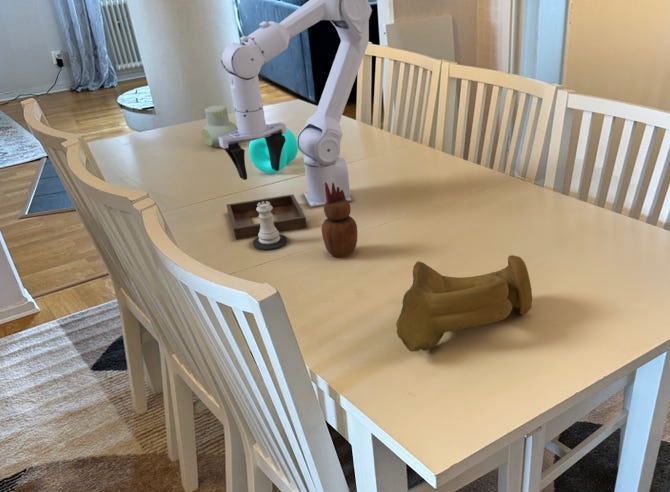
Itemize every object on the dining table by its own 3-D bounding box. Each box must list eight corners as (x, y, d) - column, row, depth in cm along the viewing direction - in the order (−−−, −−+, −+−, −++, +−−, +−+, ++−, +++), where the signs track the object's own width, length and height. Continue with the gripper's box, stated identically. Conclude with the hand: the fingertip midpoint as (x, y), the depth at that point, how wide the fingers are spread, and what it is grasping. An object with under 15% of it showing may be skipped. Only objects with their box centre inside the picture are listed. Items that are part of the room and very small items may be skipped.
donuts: (301, 162, 178) (296, 124, 173) (286, 176, 171) (281, 136, 165) (266, 160, 181) (260, 122, 175) (250, 174, 173) (243, 134, 167)
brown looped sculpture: (386, 259, 116) (513, 231, 115) (402, 331, 120) (526, 304, 119) (384, 280, 98) (535, 247, 97) (404, 364, 102) (549, 333, 101)
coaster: (284, 233, 143) (284, 231, 143) (290, 246, 138) (290, 245, 138) (250, 238, 142) (250, 236, 141) (255, 252, 136) (255, 250, 136)
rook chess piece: (271, 234, 142) (264, 197, 137) (285, 239, 140) (279, 202, 135) (254, 241, 139) (247, 204, 135) (268, 247, 137) (262, 210, 132)
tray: (294, 204, 156) (293, 194, 155) (307, 227, 145) (305, 217, 144) (228, 214, 152) (226, 204, 151) (235, 239, 141) (233, 229, 140)
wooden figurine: (327, 262, 132) (318, 188, 123) (322, 249, 136) (313, 177, 128) (361, 257, 133) (355, 183, 124) (355, 244, 138) (349, 172, 129)
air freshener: (201, 143, 195) (193, 107, 189) (227, 136, 199) (221, 101, 193) (216, 152, 187) (209, 115, 182) (244, 145, 191) (238, 109, 186)
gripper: (270, 97, 144) (280, 161, 152) (206, 111, 137) (220, 177, 145) (287, 104, 140) (296, 169, 148) (222, 119, 132) (235, 186, 140)
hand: (259, 173), depth 146 cm, fingers open, 7 cm apart
